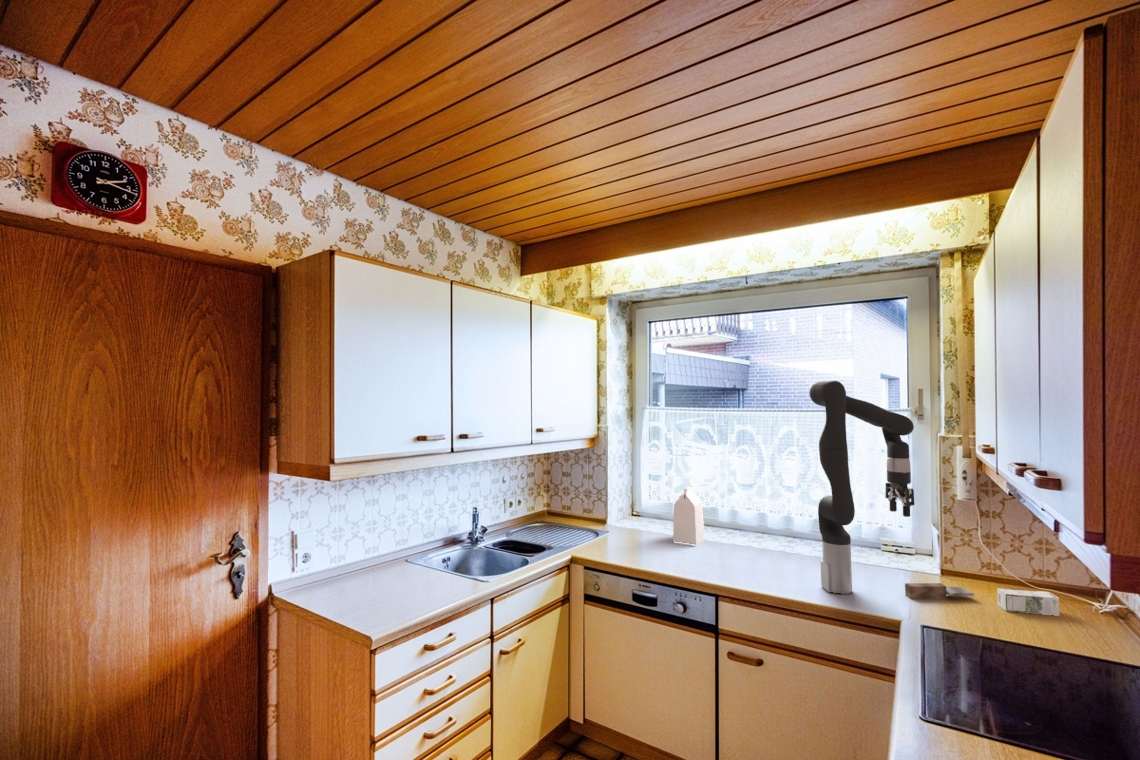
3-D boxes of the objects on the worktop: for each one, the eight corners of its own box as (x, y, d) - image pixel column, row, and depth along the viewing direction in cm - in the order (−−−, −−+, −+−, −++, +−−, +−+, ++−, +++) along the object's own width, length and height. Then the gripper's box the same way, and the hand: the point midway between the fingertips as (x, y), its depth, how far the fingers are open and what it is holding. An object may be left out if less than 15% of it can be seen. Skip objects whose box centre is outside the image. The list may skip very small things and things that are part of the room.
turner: (913, 601, 180) (912, 588, 180) (902, 594, 186) (902, 581, 186) (973, 601, 179) (973, 588, 179) (961, 594, 185) (961, 581, 185)
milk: (696, 546, 248) (695, 490, 249) (673, 543, 254) (672, 488, 255) (704, 540, 258) (703, 486, 259) (682, 537, 264) (681, 484, 265)
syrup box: (997, 605, 175) (1049, 609, 171) (1006, 612, 170) (1061, 616, 166) (996, 587, 176) (1049, 591, 172) (1005, 594, 170) (1060, 598, 166)
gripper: (877, 467, 204) (879, 509, 204) (899, 472, 190) (900, 518, 189) (897, 467, 204) (899, 509, 203) (920, 472, 190) (922, 518, 189)
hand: (899, 513), depth 196 cm, fingers open, 8 cm apart
